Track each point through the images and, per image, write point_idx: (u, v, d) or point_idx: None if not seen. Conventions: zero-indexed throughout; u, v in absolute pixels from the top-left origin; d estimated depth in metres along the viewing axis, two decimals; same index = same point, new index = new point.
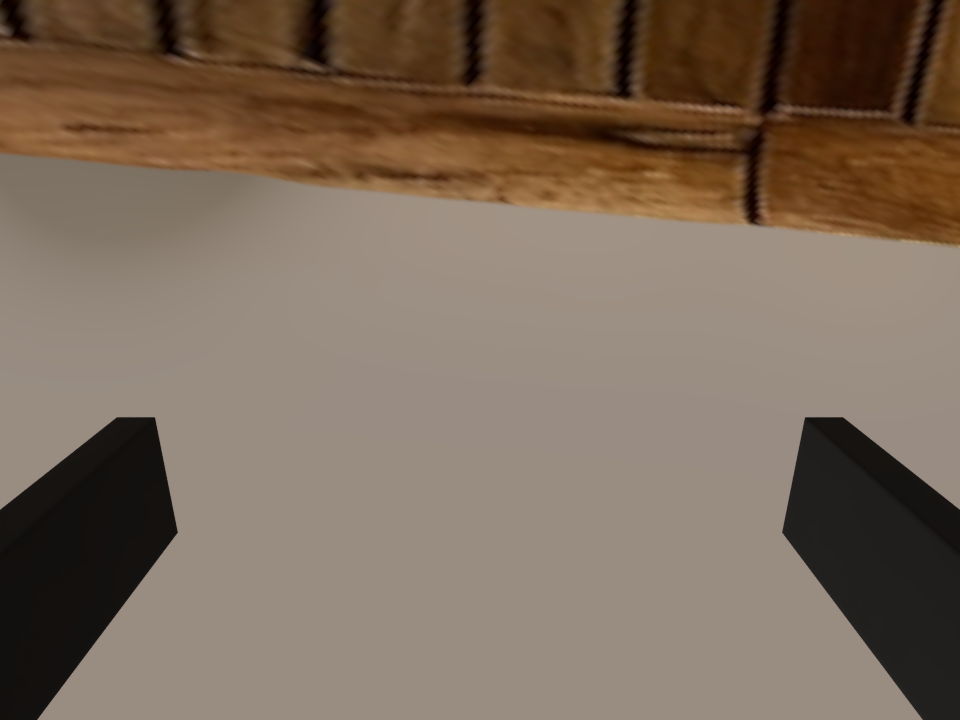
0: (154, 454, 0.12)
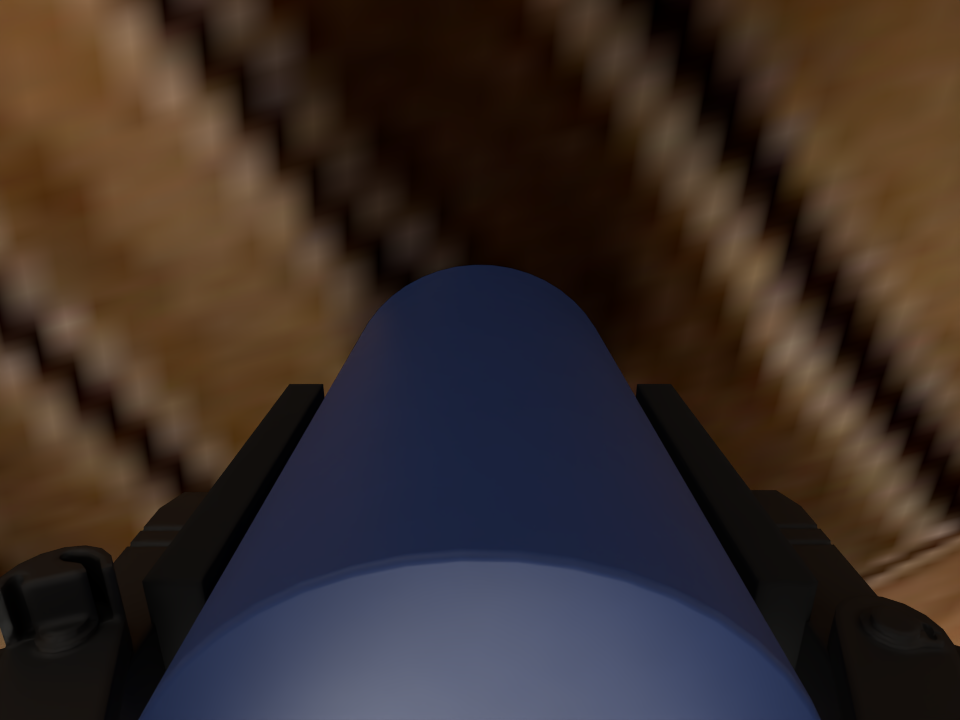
0: None
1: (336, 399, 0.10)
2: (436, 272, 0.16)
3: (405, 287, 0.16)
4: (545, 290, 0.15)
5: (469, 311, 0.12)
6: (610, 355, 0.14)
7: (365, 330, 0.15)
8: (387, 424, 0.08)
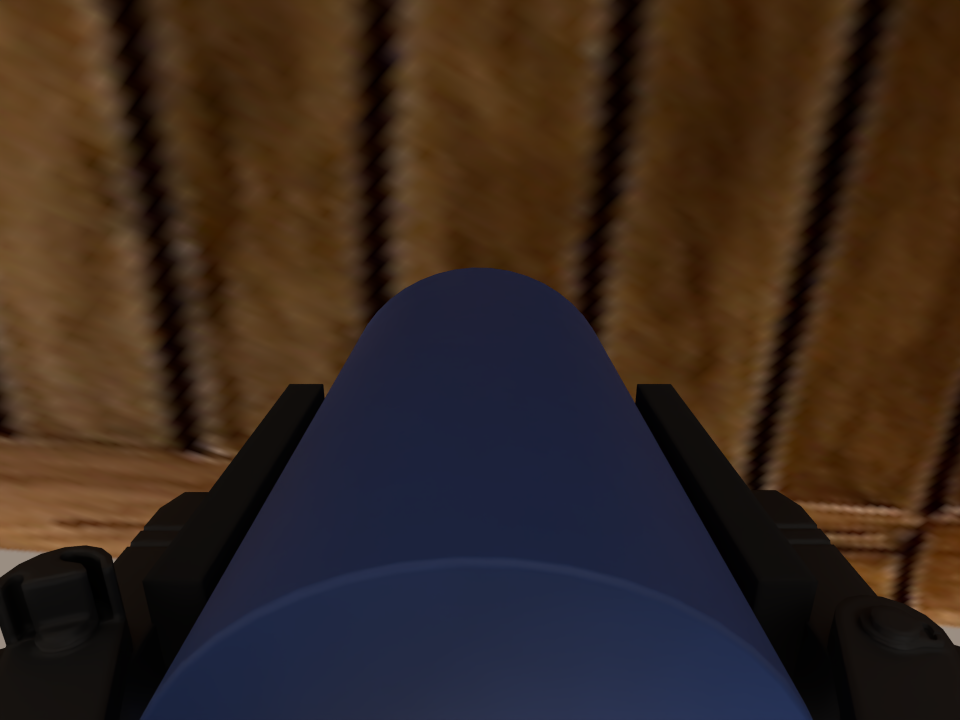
0: None
1: (334, 403, 0.10)
2: (435, 275, 0.16)
3: (404, 290, 0.16)
4: (544, 293, 0.15)
5: (468, 315, 0.12)
6: (608, 358, 0.14)
7: (364, 333, 0.15)
8: (385, 429, 0.08)
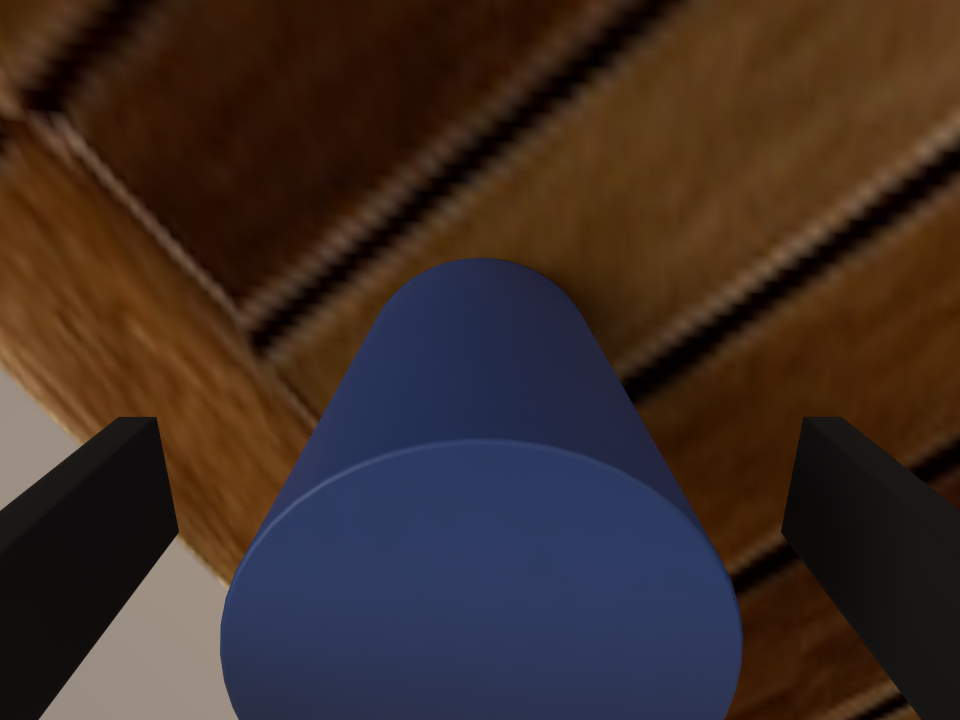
0: (155, 454, 0.12)
1: (364, 362, 0.12)
2: (442, 264, 0.18)
3: (415, 277, 0.18)
4: (536, 279, 0.17)
5: (471, 293, 0.14)
6: (592, 334, 0.16)
7: (380, 314, 0.17)
8: (409, 372, 0.10)
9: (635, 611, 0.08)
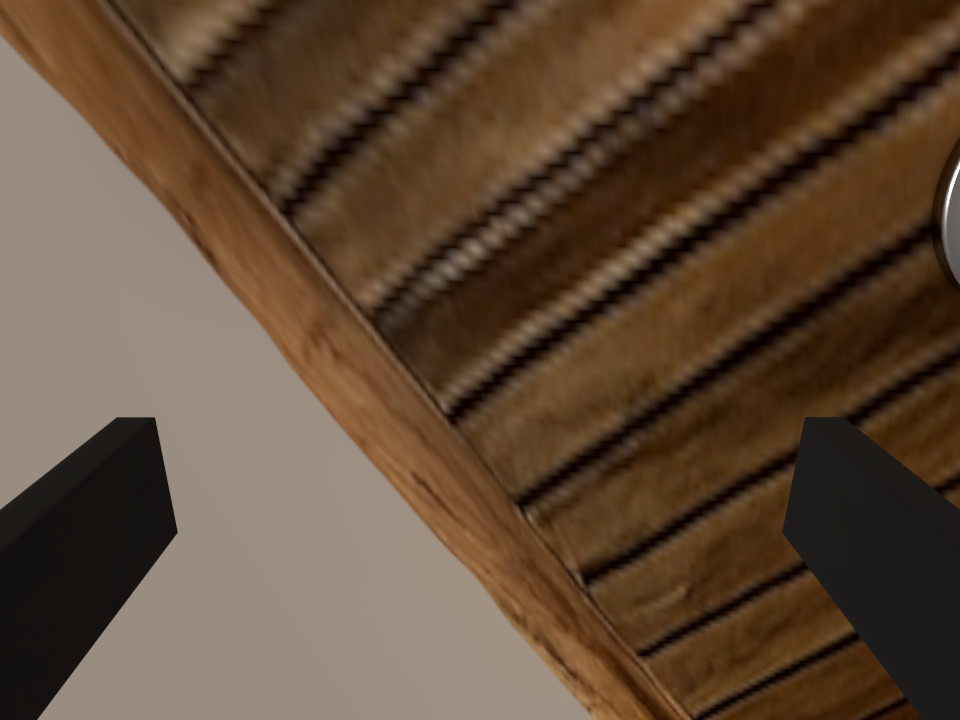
0: (154, 454, 0.12)
1: None
2: None
3: None
4: None
5: None
6: None
7: None
8: None
9: None
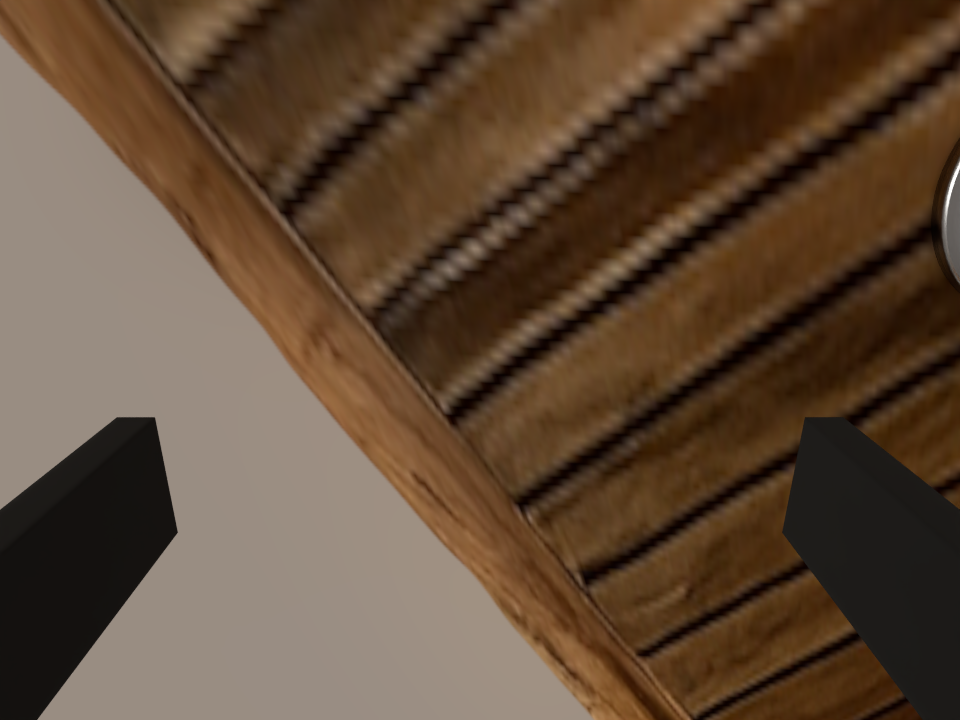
0: (154, 454, 0.12)
1: None
2: None
3: None
4: None
5: None
6: None
7: None
8: None
9: None
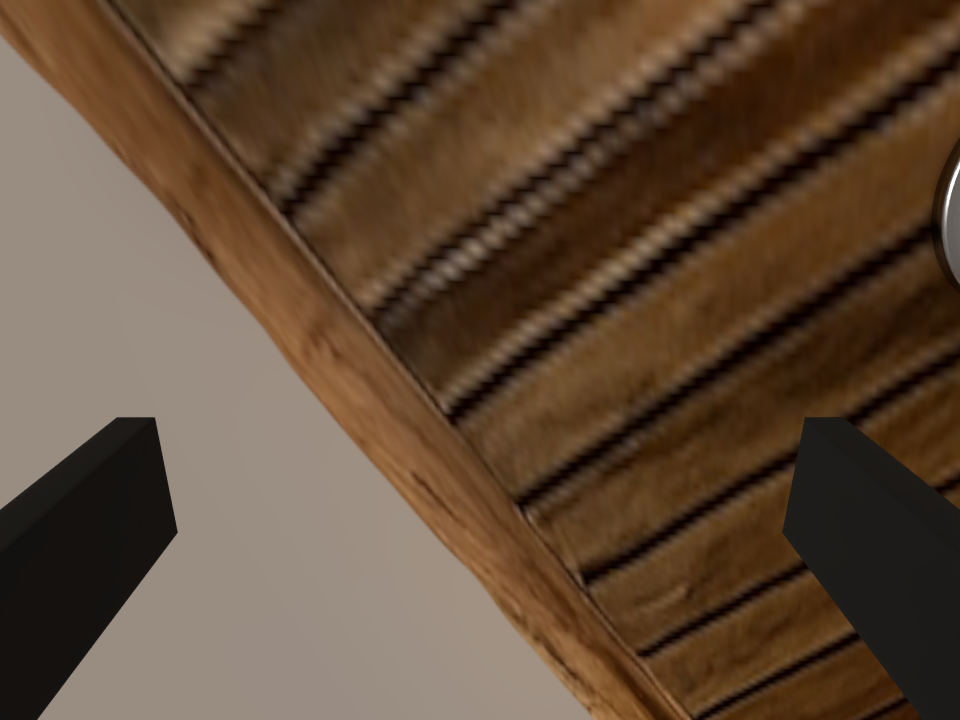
0: (154, 454, 0.12)
1: None
2: None
3: None
4: None
5: None
6: None
7: None
8: None
9: None
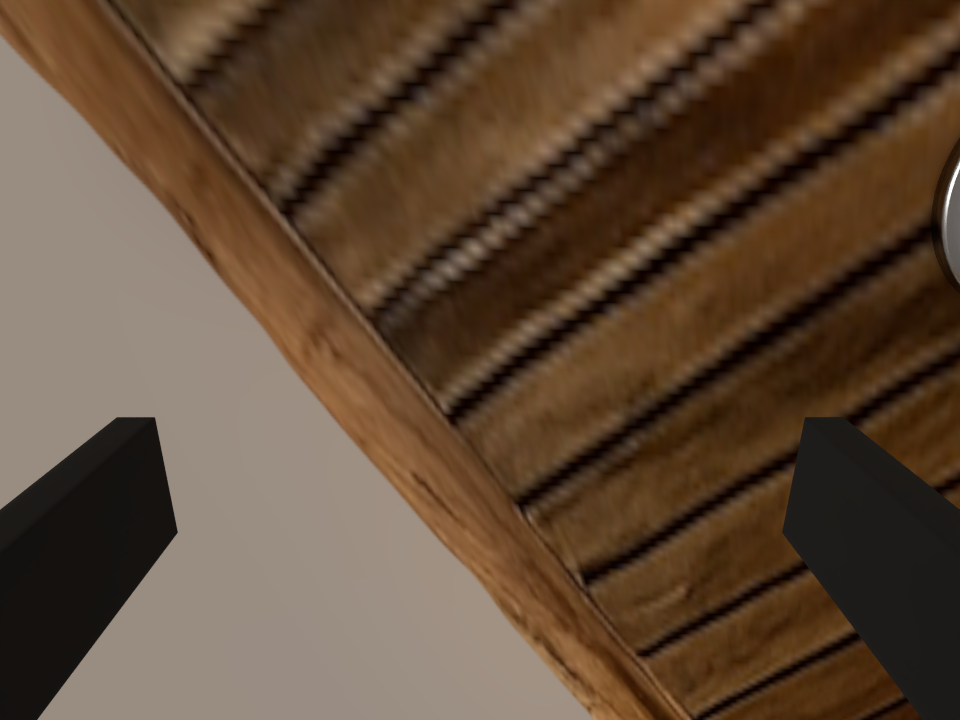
0: (154, 454, 0.12)
1: None
2: None
3: None
4: None
5: None
6: None
7: None
8: None
9: None
